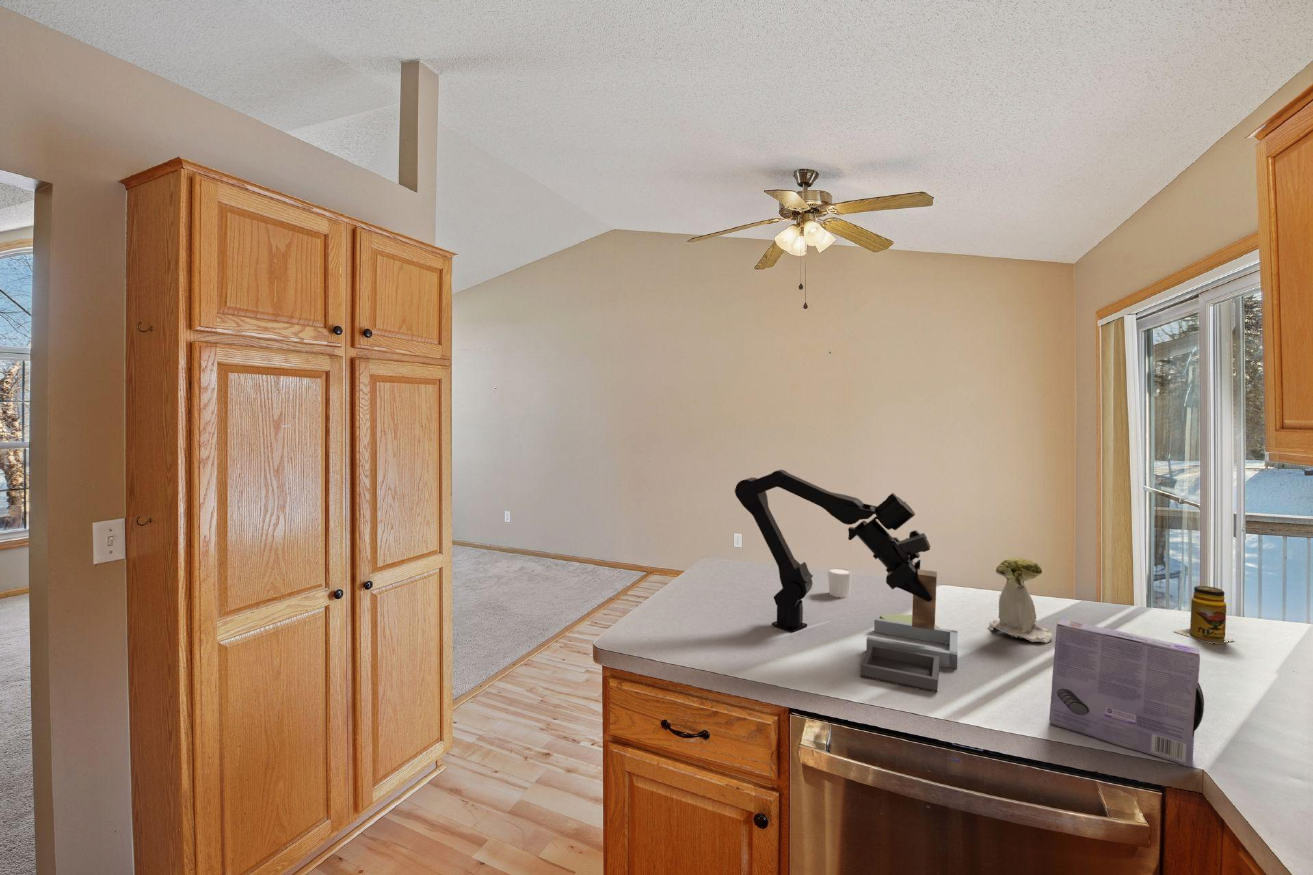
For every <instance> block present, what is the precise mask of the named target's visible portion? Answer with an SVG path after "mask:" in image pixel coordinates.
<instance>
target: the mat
mask: <svg viewBox="0 0 1313 875" xmlns="http://www.w3.org/2000/svg"><path fill="white" fill-rule="evenodd" d="M879 618H880V619H885V620H892V621H898V622H904V623H911V624H912V614H881V615H880V616H879ZM935 627H936V628H940V627H939V626H938V625H937V624H935Z"/></svg>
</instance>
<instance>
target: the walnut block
mask: <svg viewBox="0 0 1313 875" xmlns="http://www.w3.org/2000/svg"><path fill="white" fill-rule="evenodd" d="M918 578H919V580H920V581H921V582H922V584H923V585H924V587H925V588H926V590H927V591H928V593H929V594H930V596H931V597H932V600H931V601H930V602H928V601H926V600H924V599H922V598H920V597H917V596H915V595H913V594H912V610H911V611H912V614H911V615H912V627H917V628H923V629H928V630H934V628H935V625H936V609H937V608H936V602H937V582H938V579H937V578H938V572H937V571H934V570H926V569H920V570H919V569H918Z"/></svg>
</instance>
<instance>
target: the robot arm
mask: <svg viewBox="0 0 1313 875" xmlns="http://www.w3.org/2000/svg"><path fill="white" fill-rule="evenodd" d="M775 488H780V489H782V490H784V491H787V492H788V493H790V494H793V495H796V496H797V497H800V498H802V499H804V500H807V501H808V502H809V503H812V504H815V505H816V506H819V507H821V508H822V509H823V510H825V511H826V512H827V513H828V514H830V515H831V516H832V517H833V518H835V519H836V520H838V521H839V522H840V523H842V524H844V525H847V526H848V525H850V526H849V527H848V528H847V531H848V539H847V540H849V541H852V540H853V539H855V538H856V537H858V538H859V540H860V541H861V542H862V543H863V545H865V546H866V547H867V548H868V549H869V551H870V552H871V553H872V554H873V555H872V557H873V558H874V559H875V560H877V559H878V560H879V561H880V562H881V564H882V565H884V567H885V568H886V569H885V571H886V572H887V575H886V576H885V577H886V578H885V579H886V580H885V583H886V584H887V586H888V587H889V588H890V589H891V590H895V589H896V588H897V589H900V590H902V591H905V592H907V593H909V594H911V595H912V596H913V595H915V596H917V597H920V598H922V599H924V600H926V601H928V602H930V601H931V600H932V597H931V596H930V594H929V593H928V591H927V590H926V588H925V587H924V585H923V584H922V582H921V581H920V580H919V578H918V569H919V570H921V559H920V556H921V554H920V553H922V552H923V553H925V552H928V551H930V550H931V545H930V543H929V540H928V536H927V535H926V534H925V533H924V532H923V533H921V532H919V531H918V530H912V531H910V532H909V535H908V536H909V537H906V538H905V539H902V540H900V539H899V538H898V537H897V536H896V537H895V536H892V535H891V534H890V533H889V532H888V531H890V530H894V531H897V530H898V529H900V528H901V527H902V526H904V525H905V524H906V523H908V521H909V520H911V519H912V518H914V516H915V515H916V513H915V512H914V510H913V509H912V507H911V506H910V505H909V504H908V503H907V502H906V501H904V500H903V499H901V497H899V496H897V495H896V494H895V493H894V492H892V493H891V494H889V495H888V496H887V498H885V499H884V500H883V501H882V502H880V504H879V505H873V504H868V503H864V502H863V501H862V499H859V498H858V497H855V496H851V495H848V494H847V495H846V494H844V493H836V492H833V491H832V492H831V491H829V490H826V489H825V488H822V487H820V486H818V485H815V484H814V483H811V482H809V481H808V480H807V481H806V480H805V479H802V478H800V477H797V476H796V475H794V474H791V473H789V472H788V471H786V470H784V469H777V470H775V471H773V472H771V473H769V474H766V475H764V476H762V477H759V478H757V477H749V478H745V479H742V480H740V481H738V482H737V484H736V486H735V489H734V494H735V496H736V498H737V500H738V501H739V502H740V504H741V505H742V507H744V509H746V511H748V512H749V513H750V514H751V515H752V516H753V519H754V522H756V523H755V524H756V525H757V527H758V529H759V531H760V532H761V535H762V537H763V539H764V541H765V543H766V545H767V547H768V549H769V551H770V553H771V555H772V557H773V560H774V561H775V563H776V565H777V568H778V574H779V582H780V584H781V589H780V590H779V591H777V592H776V594H775V595H774V596H773V600H774V603H775V605H776V620H775V621H773V622H771V626H774V627H777V628H779V629H782V630H785V631H788V632H791V633H792V632H797V631H798V630H801V629H803V628H807V627H808V623H806V622H803V620H804V618H803V614H804V607H803V599H804V598H805V597H806V596H807V594H808V593H809V592H810V591H811V589H812V587H813V579H812V578H814V575H813V574H812V573H811V572H810V570H809V568H808V564H807V563H806V561H804V562H802V563H800V562H799V561H798V560H796V558H795V557H794V555H793V553H792V551H791V549H790V547H789V545H788V542H786V539H785V537H784V535H783V533H782V531H781V530H780V528H779V526H778V523H777V522H776V519H775V517H774V515H773V513H772V511H771V509H770V507H769V501H768V499H769V498H768V495H767V491H769V490H772V489H775ZM873 515H876V516H874V517H873ZM871 517H873V518H872V519H870V518H871ZM868 519H870V520H869V521H866V520H868ZM860 520H862V521H861V522H860V523H859V524H858V522H859V521H860ZM856 523H857V525H856V526H854V527H852V526H851V525H854V524H856ZM915 559H918V560H917V561H916V562H914V560H915Z"/></svg>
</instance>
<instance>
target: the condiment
mask: <svg viewBox="0 0 1313 875" xmlns="http://www.w3.org/2000/svg"><path fill="white" fill-rule="evenodd" d="M1193 590H1194V591H1193V596H1192V597H1191V603H1190V604H1191V605H1190V623H1189V625H1190V626H1189V628H1184V629H1180V630H1173V631H1172V632H1173V633H1177V634H1181V635H1184V636H1188V637H1190V638H1192V639H1195V640H1198V641H1201V642H1205V643H1208V644H1210V643H1211V644H1212V645H1219V644H1226V643H1230V642H1234V641H1236V640H1235V639H1231V638H1227V637H1226V630H1227V628H1226V626H1227V624H1226V622H1227V603H1226V601H1225V591H1224V590H1223V589H1222V588H1221V589H1220V588H1218V587H1213V586H1206V585H1196V586H1194V588H1193ZM1224 641H1225V642H1224ZM1228 641H1229V642H1228ZM1213 643H1215V644H1213Z"/></svg>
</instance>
